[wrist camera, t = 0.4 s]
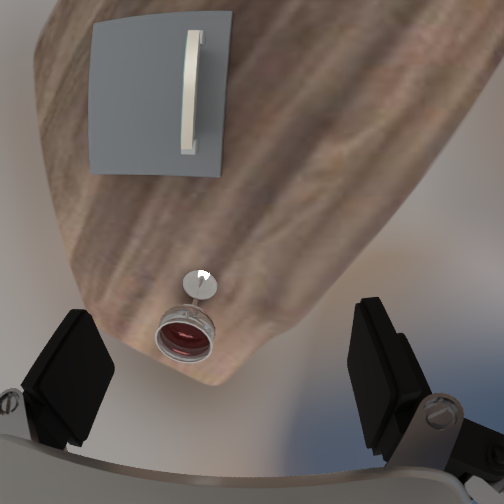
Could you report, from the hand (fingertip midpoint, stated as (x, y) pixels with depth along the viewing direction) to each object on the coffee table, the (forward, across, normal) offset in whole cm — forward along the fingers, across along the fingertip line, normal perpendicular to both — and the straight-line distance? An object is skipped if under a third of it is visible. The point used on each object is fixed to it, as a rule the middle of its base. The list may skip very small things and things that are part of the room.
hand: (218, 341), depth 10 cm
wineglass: (+30, +8, +17) cm, 35 cm away
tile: (+22, +4, -9) cm, 24 cm away
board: (+30, +10, -10) cm, 33 cm away
